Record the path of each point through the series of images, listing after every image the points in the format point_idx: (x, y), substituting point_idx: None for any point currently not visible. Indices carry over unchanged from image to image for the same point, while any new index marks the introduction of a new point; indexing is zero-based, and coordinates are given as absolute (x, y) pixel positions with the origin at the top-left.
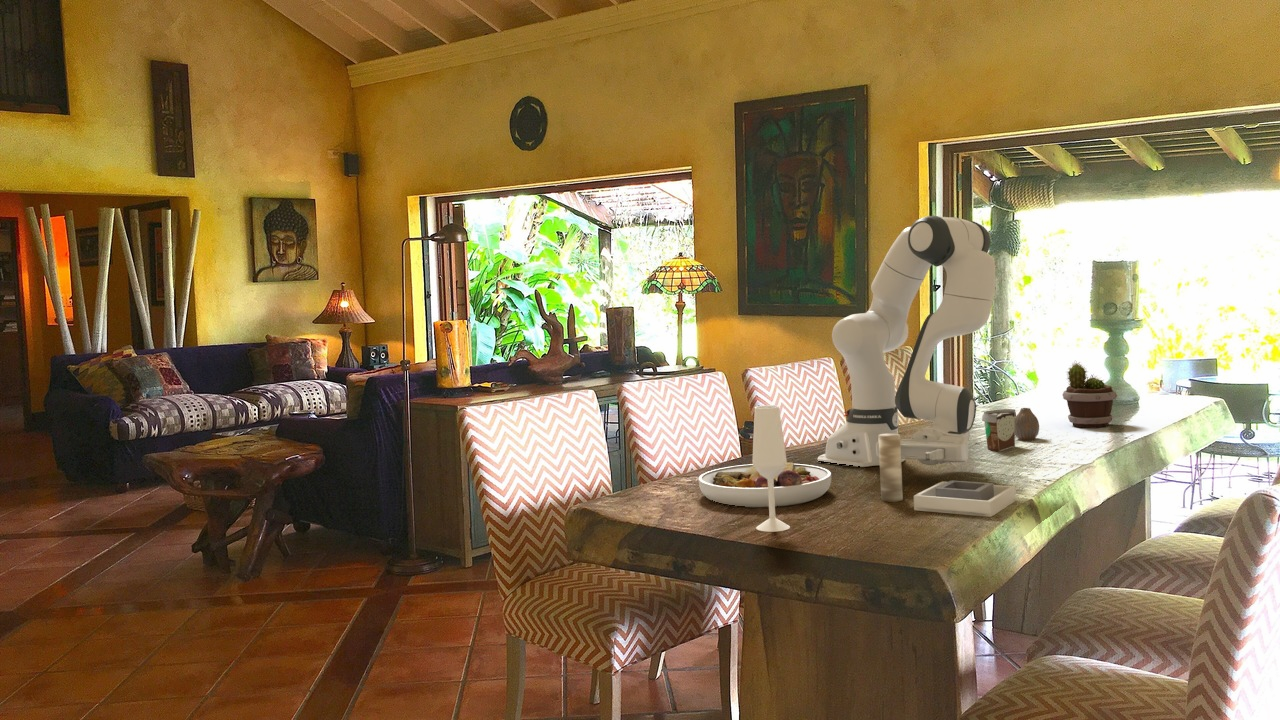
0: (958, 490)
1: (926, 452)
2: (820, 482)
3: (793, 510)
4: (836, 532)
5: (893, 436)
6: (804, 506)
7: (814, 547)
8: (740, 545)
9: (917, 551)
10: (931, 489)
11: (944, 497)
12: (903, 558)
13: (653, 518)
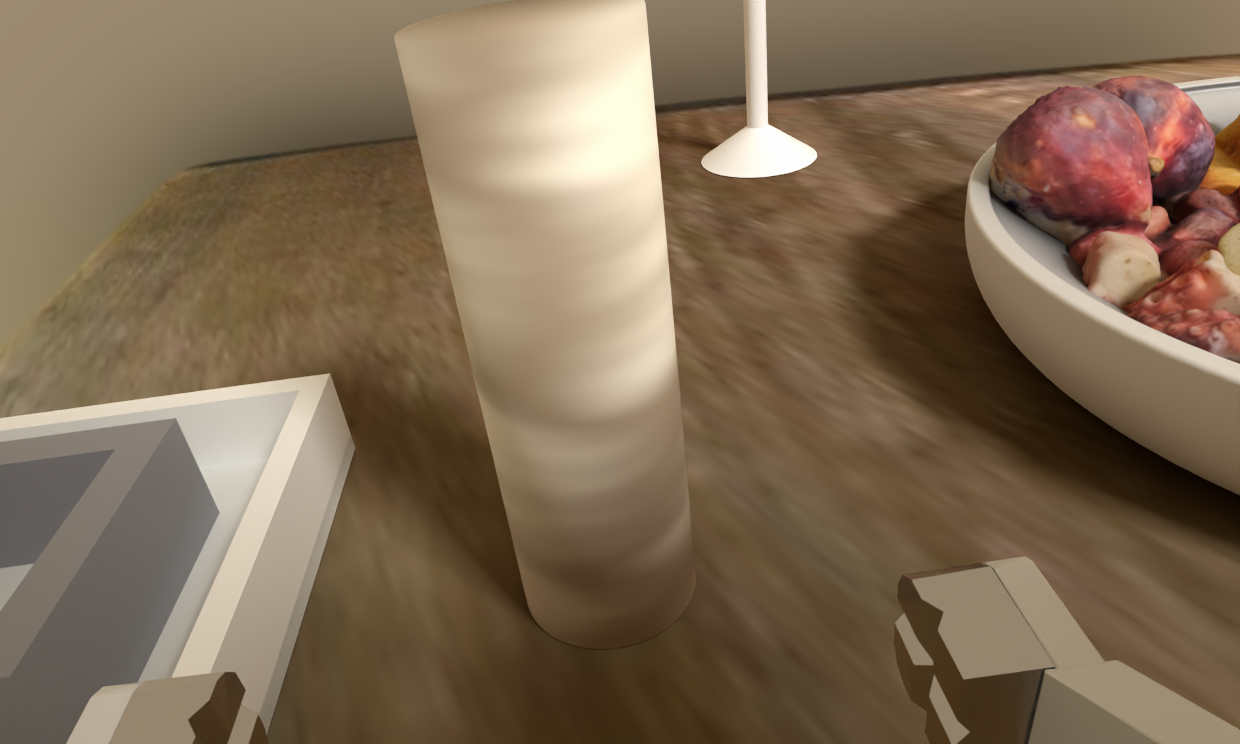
0: (7, 443)
1: (206, 674)
2: (990, 255)
3: (912, 250)
4: None
5: (439, 16)
6: (943, 293)
7: None
8: (698, 101)
9: (242, 201)
10: (236, 541)
11: (129, 408)
12: (271, 174)
13: None
